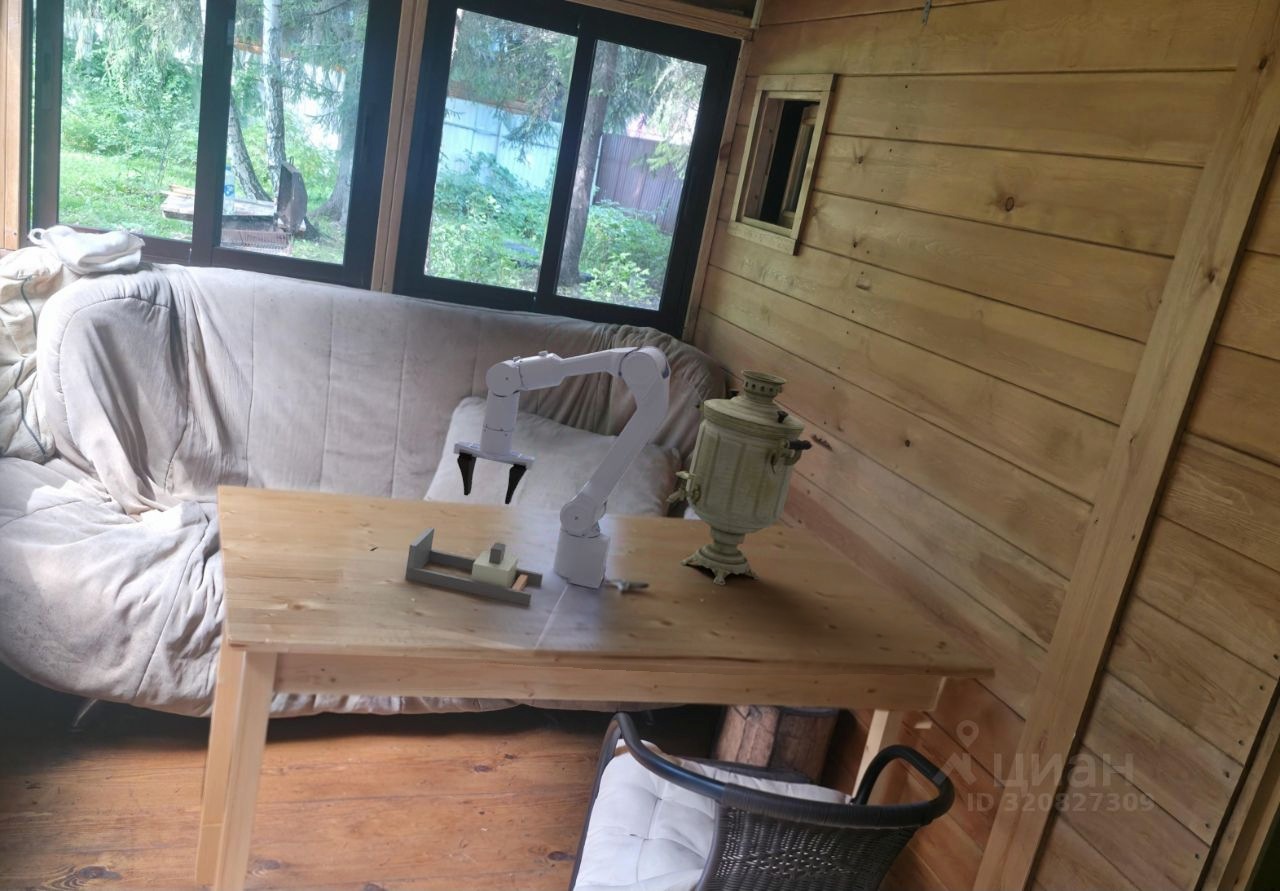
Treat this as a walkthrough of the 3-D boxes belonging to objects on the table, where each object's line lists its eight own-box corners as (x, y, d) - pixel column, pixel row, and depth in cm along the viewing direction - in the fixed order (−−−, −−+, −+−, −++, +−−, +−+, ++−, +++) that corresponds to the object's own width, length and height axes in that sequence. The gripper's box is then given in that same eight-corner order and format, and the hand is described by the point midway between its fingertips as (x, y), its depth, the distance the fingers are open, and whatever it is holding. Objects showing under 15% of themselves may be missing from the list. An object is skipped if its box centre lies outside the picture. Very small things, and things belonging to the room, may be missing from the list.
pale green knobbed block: (514, 581, 173) (520, 543, 171) (504, 596, 166) (511, 557, 165) (480, 574, 173) (486, 536, 172) (469, 588, 167) (475, 549, 165)
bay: (541, 586, 175) (547, 550, 174) (526, 612, 164) (533, 574, 162) (425, 561, 177) (430, 524, 175) (402, 585, 165) (407, 546, 163)
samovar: (621, 537, 209) (658, 349, 199) (735, 545, 218) (775, 365, 208) (670, 597, 182) (715, 383, 172) (797, 603, 191) (847, 400, 181)
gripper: (453, 423, 177) (442, 495, 180) (533, 439, 176) (521, 512, 179) (464, 415, 184) (453, 485, 187) (541, 431, 183) (529, 502, 186)
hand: (487, 498), depth 184 cm, fingers open, 7 cm apart
